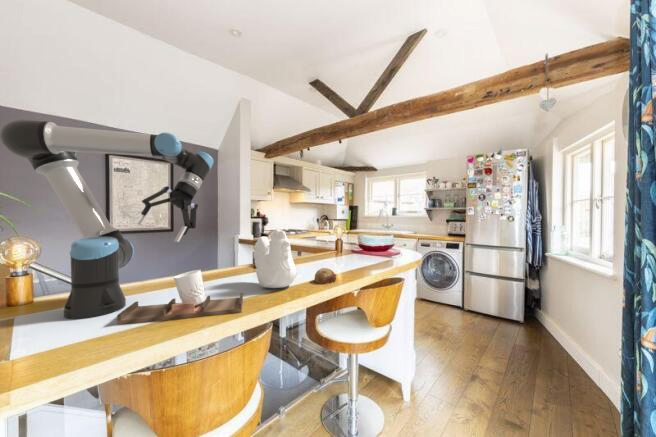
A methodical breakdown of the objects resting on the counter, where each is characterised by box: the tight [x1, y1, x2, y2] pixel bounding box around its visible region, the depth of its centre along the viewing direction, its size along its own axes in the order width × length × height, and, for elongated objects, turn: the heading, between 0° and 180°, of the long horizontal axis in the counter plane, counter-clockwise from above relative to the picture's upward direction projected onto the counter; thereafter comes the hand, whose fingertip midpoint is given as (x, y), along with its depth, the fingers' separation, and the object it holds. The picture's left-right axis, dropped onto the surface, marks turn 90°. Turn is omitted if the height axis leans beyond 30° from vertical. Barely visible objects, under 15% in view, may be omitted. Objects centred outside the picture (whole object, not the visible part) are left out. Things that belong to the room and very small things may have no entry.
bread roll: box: [313, 267, 337, 284], centre depth 123 cm, size 10×10×8 cm
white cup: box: [173, 269, 207, 305], centre depth 86 cm, size 8×8×10 cm
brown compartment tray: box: [116, 292, 244, 326], centre depth 85 cm, size 33×12×4 cm, turn 106°
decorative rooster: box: [252, 228, 298, 289], centre depth 117 cm, size 25×16×25 cm, turn 35°
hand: (159, 233), depth 97 cm, fingers open, 13 cm apart
